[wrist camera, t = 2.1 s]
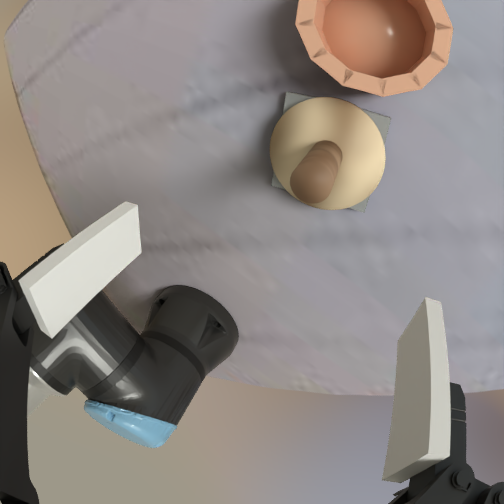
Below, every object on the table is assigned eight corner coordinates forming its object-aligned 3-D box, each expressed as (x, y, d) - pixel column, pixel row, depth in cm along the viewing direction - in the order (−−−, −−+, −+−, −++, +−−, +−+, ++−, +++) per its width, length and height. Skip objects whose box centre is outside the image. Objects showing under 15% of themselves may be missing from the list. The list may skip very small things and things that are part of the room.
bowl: (301, 74, 26) (287, 74, 22) (318, -34, 19) (306, -53, 15) (424, 108, 23) (435, 115, 19) (443, -2, 16) (457, -17, 12)
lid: (266, 188, 33) (230, 228, 26) (281, 86, 26) (246, 92, 19) (367, 218, 30) (362, 269, 23) (397, 115, 24) (409, 132, 17)
